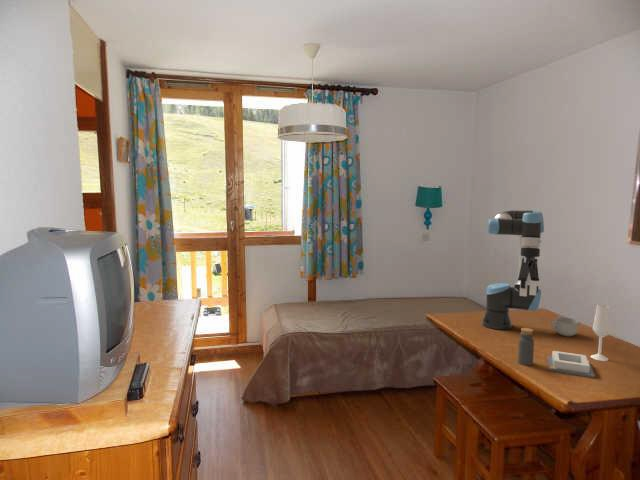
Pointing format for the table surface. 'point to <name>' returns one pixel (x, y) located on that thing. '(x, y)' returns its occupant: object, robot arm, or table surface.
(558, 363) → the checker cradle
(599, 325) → the champagne flute
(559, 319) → the teacup
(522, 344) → the bottle
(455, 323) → the table surface
